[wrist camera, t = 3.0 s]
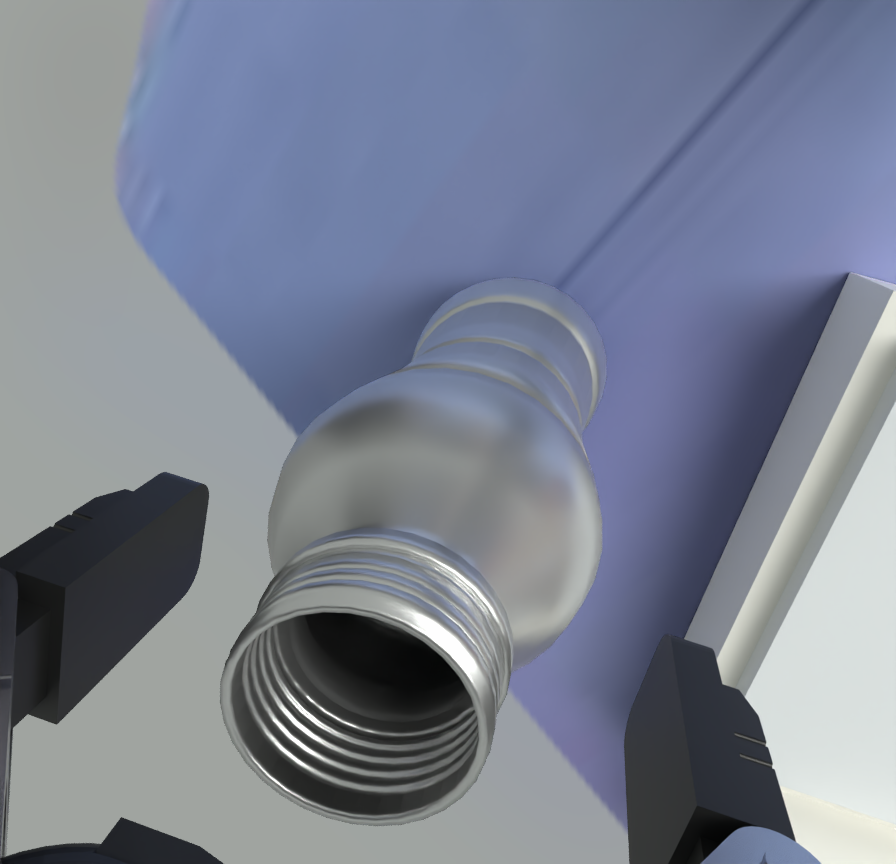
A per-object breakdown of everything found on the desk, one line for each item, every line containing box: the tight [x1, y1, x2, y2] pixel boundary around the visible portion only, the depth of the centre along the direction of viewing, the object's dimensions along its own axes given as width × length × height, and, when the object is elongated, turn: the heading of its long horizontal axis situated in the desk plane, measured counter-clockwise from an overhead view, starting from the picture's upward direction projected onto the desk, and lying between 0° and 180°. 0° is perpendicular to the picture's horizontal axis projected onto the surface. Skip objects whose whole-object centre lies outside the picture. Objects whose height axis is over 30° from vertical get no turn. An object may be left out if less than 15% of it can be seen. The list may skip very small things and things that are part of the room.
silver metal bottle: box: [220, 277, 607, 826], centre depth 19 cm, size 6×7×20 cm
